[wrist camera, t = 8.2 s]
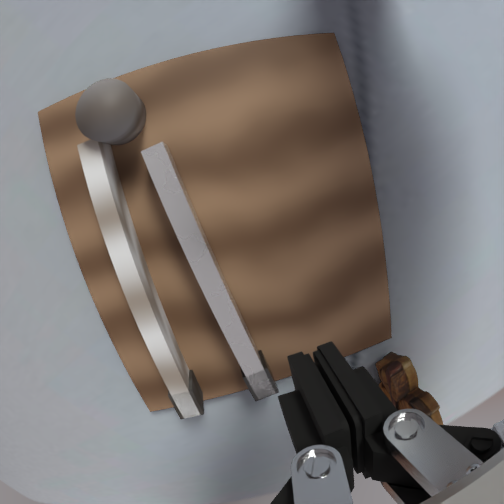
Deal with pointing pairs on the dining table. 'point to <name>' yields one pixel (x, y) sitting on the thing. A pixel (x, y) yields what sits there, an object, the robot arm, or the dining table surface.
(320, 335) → the tong board
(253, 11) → the dining table surface
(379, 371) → the wooden carving
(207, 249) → the bar
